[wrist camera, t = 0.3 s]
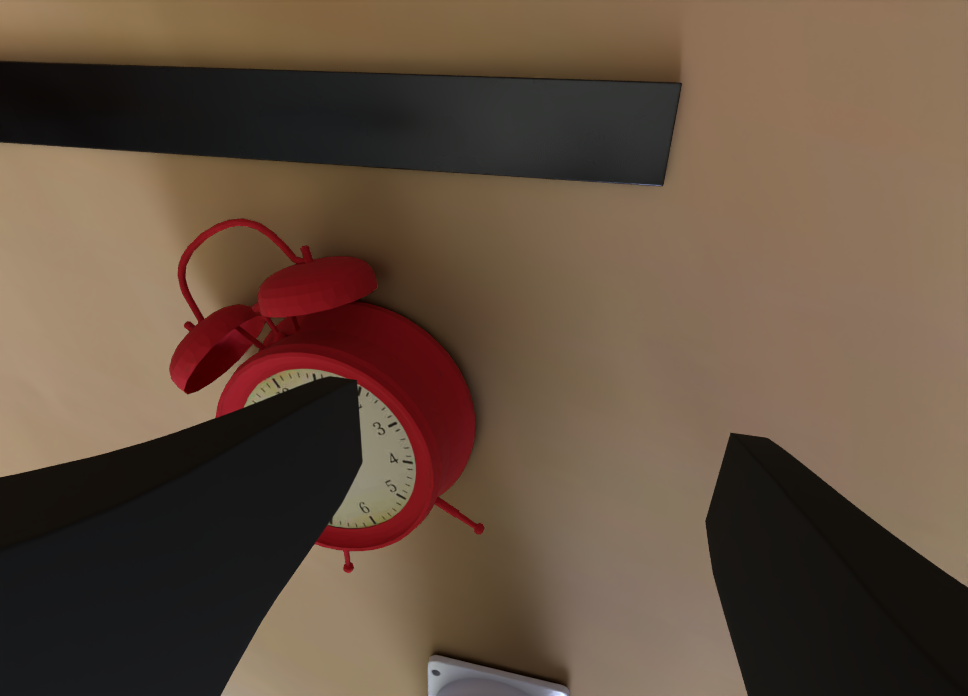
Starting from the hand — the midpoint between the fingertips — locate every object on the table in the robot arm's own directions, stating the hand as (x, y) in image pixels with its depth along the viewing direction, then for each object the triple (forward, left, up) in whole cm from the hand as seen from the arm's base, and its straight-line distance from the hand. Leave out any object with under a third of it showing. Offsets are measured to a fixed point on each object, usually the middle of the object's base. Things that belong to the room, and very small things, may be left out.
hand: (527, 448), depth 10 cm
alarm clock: (-5, +9, -10) cm, 15 cm away
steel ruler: (+6, +12, -10) cm, 17 cm away
